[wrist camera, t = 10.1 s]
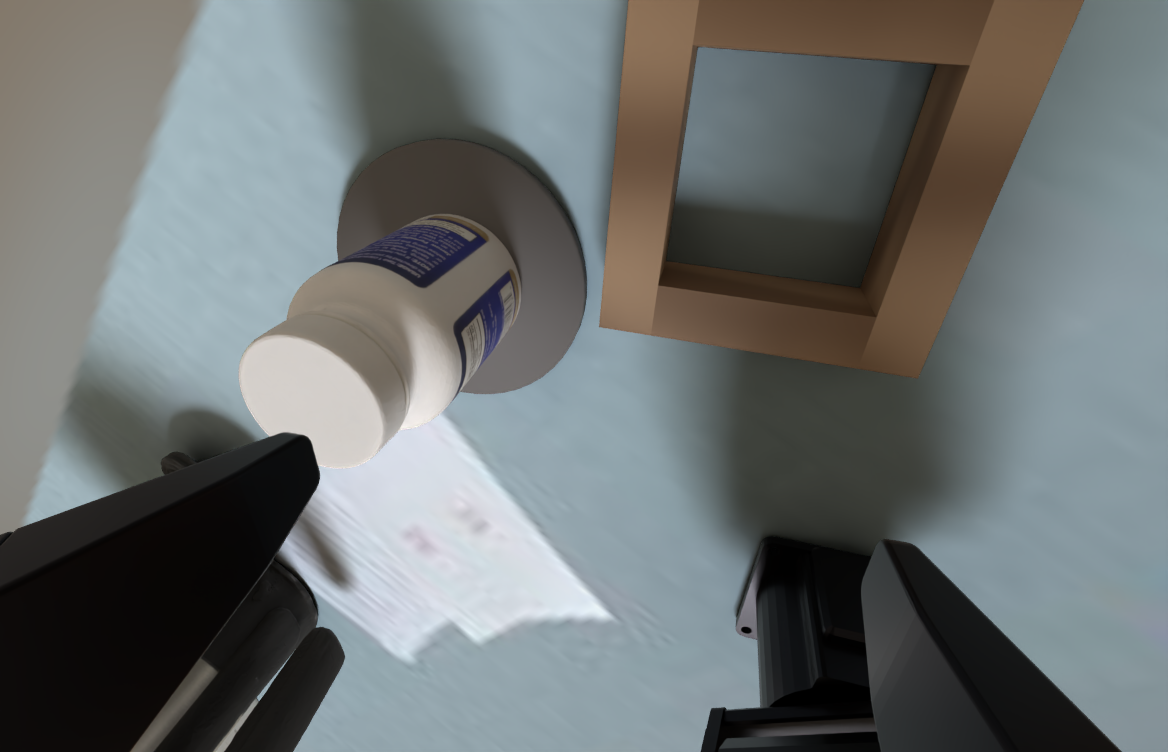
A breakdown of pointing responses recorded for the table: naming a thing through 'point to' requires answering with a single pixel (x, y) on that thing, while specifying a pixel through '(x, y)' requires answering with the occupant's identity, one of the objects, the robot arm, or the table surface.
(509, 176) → the mat
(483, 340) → the pill bottle
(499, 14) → the table surface
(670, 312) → the collar block
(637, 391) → the table surface
